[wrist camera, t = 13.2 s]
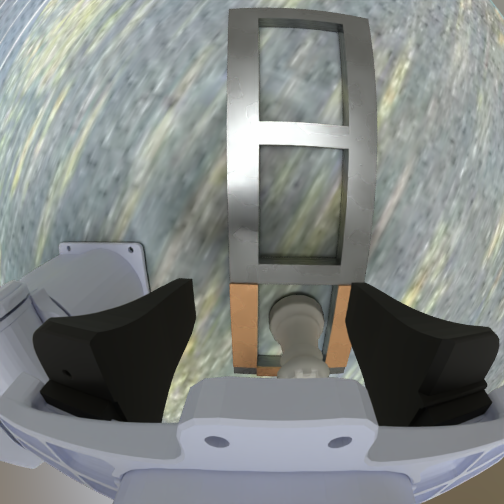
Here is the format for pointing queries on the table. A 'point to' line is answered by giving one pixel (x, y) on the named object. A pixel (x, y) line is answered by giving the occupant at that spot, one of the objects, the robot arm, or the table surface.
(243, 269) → the hole rail
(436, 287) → the table surface
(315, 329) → the rook chess piece
